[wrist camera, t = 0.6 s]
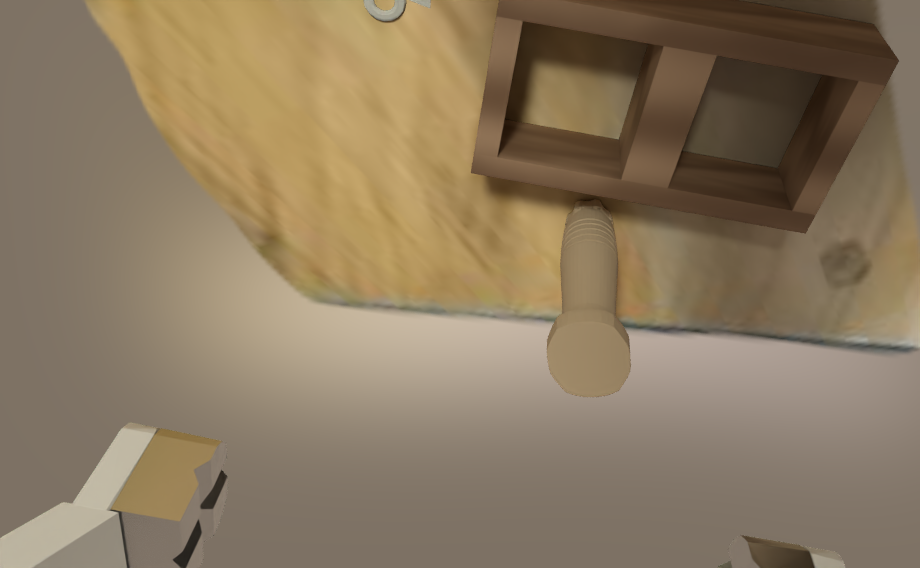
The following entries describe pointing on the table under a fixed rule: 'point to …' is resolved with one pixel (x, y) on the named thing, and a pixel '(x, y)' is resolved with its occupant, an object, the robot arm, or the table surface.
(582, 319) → the handle
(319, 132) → the table surface
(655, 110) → the divided box
